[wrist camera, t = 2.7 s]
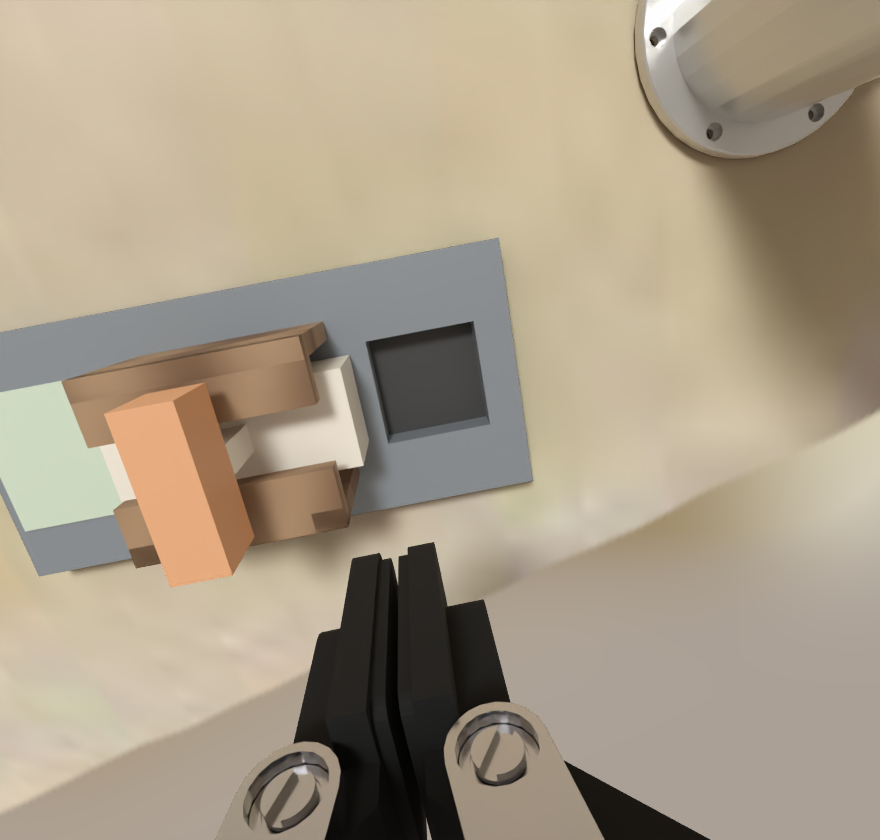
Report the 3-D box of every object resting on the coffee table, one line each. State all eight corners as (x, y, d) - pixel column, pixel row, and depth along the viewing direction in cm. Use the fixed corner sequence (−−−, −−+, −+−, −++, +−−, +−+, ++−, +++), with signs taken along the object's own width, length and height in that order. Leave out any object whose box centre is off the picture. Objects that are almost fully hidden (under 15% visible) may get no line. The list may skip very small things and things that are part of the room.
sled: (344, 336, 28) (310, 374, 18) (372, 456, 30) (356, 551, 20) (124, 378, 28) (-35, 440, 18) (167, 496, 30) (45, 611, 20)
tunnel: (322, 321, 28) (298, 336, 22) (360, 474, 30) (348, 527, 24) (138, 356, 28) (60, 381, 22) (191, 506, 30) (135, 568, 24)
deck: (492, 239, 29) (499, 237, 27) (525, 468, 33) (533, 481, 31) (-37, 340, 29) (-72, 345, 27) (60, 558, 33) (37, 577, 31)
